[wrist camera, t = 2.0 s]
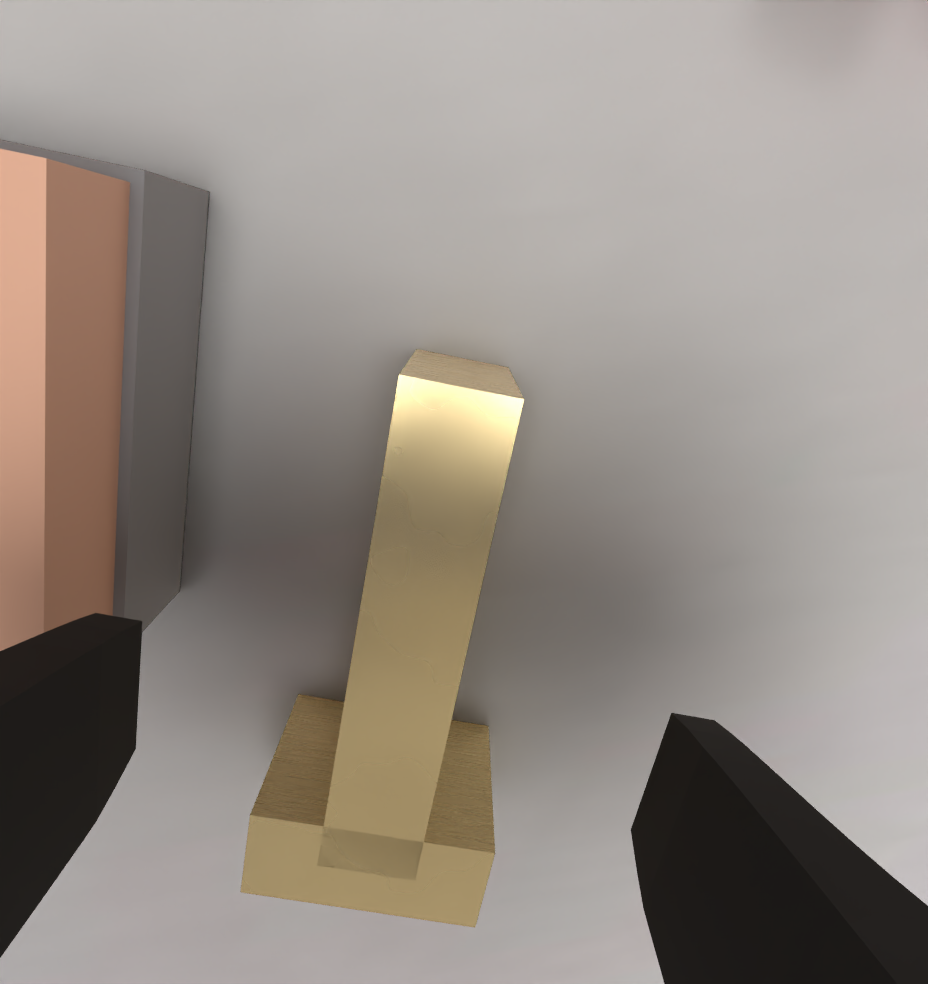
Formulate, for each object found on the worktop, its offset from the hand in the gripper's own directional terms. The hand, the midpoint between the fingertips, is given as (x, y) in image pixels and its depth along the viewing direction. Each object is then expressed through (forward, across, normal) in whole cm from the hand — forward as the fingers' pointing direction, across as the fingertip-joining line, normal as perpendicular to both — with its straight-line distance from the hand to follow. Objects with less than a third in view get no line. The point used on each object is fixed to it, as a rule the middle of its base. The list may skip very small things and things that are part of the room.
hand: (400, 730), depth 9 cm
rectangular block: (+5, 0, 0) cm, 5 cm away
